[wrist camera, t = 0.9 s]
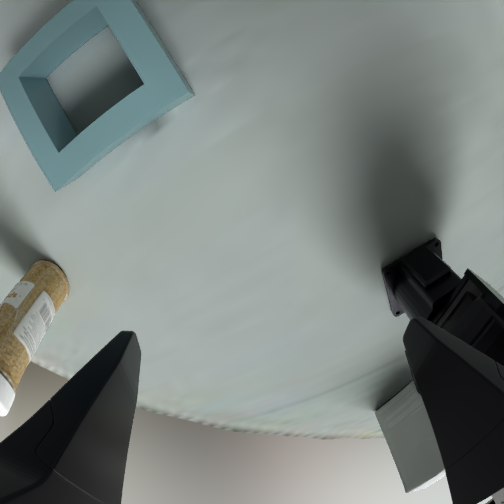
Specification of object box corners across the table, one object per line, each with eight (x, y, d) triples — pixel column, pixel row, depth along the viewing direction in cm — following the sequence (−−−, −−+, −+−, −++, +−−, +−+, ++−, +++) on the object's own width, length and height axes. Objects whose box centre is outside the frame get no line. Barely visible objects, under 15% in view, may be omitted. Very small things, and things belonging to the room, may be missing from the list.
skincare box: (393, 414, 39) (424, 489, 25) (370, 410, 36) (402, 496, 22) (431, 383, 36) (471, 459, 22) (412, 376, 33) (457, 465, 19)
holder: (195, 95, 16) (188, 92, 13) (78, 177, 18) (55, 192, 14) (128, -10, 12) (112, -28, 8) (23, 78, 13) (-5, 78, 10)
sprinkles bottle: (34, 249, 20) (-55, 359, 8) (75, 273, 21) (1, 400, 9) (29, 287, 21) (-39, 393, 9) (67, 308, 23) (10, 427, 11)
